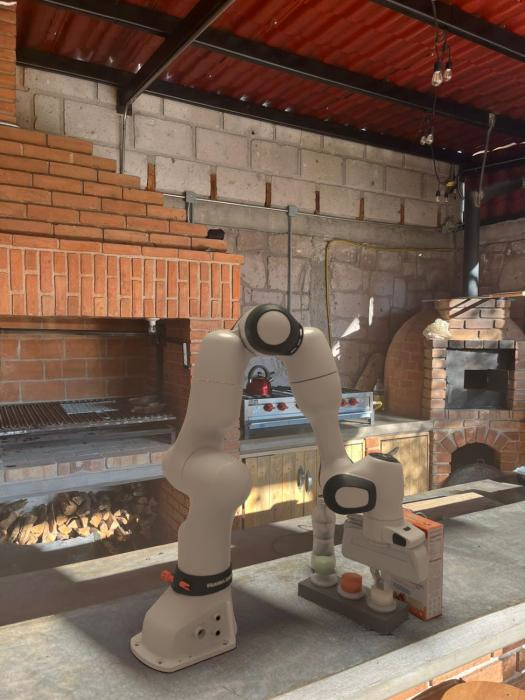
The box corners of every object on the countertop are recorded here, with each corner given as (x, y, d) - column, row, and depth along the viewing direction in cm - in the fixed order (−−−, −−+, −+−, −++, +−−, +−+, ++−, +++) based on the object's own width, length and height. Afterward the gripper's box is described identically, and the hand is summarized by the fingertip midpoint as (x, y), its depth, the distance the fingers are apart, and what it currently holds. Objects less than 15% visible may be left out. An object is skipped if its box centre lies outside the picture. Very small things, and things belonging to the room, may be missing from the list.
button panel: (384, 635, 112) (385, 616, 112) (297, 595, 129) (298, 578, 129) (408, 617, 119) (409, 599, 119) (323, 581, 136) (323, 566, 136)
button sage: (326, 577, 126) (326, 566, 126) (310, 570, 129) (310, 560, 129) (338, 570, 130) (338, 560, 129) (322, 564, 133) (322, 554, 133)
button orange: (354, 595, 121) (354, 583, 120) (336, 587, 124) (337, 576, 124) (366, 588, 124) (366, 577, 124) (349, 581, 127) (349, 570, 127)
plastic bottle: (337, 576, 139) (338, 500, 138) (311, 575, 139) (312, 499, 139) (334, 565, 146) (335, 492, 145) (309, 565, 146) (310, 492, 145)
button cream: (385, 608, 115) (385, 596, 115) (366, 600, 118) (366, 588, 118) (396, 600, 118) (397, 588, 118) (378, 592, 122) (378, 581, 122)
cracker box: (378, 596, 129) (380, 510, 128) (396, 589, 132) (398, 506, 132) (424, 622, 117) (426, 528, 117) (443, 615, 120) (445, 523, 120)
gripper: (336, 518, 123) (335, 577, 123) (417, 543, 109) (416, 610, 109) (352, 512, 127) (351, 569, 128) (432, 535, 113) (431, 599, 114)
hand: (382, 588), depth 118 cm, fingers closed, pressing on button cream
